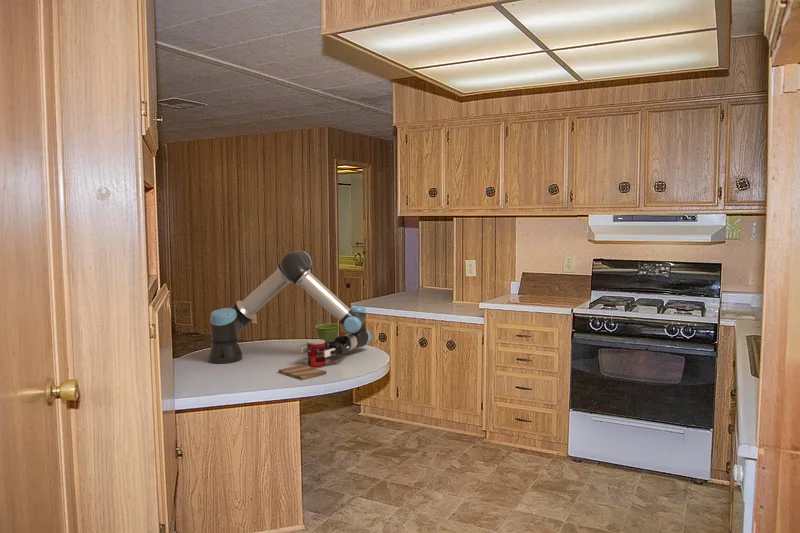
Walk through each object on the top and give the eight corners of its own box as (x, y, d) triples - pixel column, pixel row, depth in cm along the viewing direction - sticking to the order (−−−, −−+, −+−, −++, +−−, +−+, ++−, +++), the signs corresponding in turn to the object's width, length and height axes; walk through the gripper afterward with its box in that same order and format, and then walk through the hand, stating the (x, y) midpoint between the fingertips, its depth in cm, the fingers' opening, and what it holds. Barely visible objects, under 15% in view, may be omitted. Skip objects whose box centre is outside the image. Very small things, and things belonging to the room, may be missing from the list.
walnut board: (278, 372, 259) (278, 369, 259) (301, 366, 267) (301, 364, 267) (302, 380, 246) (302, 377, 245) (326, 374, 254) (326, 371, 254)
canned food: (311, 363, 273) (310, 339, 272) (328, 363, 272) (327, 339, 271) (305, 367, 266) (304, 342, 265) (322, 367, 264) (321, 343, 263)
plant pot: (311, 348, 302) (310, 326, 301) (328, 344, 311) (328, 322, 310) (327, 351, 294) (326, 329, 293) (345, 347, 303) (344, 325, 302)
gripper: (366, 354, 276) (334, 364, 259) (326, 348, 291) (293, 357, 274) (365, 337, 276) (333, 347, 259) (325, 332, 290) (292, 341, 273)
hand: (313, 352), depth 266 cm, fingers open, 13 cm apart
